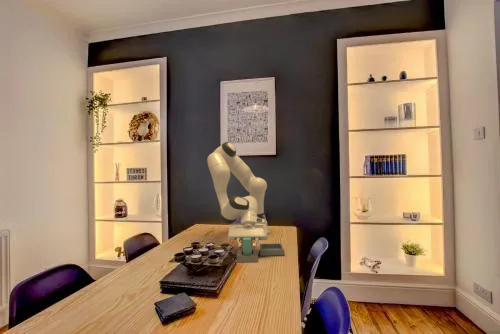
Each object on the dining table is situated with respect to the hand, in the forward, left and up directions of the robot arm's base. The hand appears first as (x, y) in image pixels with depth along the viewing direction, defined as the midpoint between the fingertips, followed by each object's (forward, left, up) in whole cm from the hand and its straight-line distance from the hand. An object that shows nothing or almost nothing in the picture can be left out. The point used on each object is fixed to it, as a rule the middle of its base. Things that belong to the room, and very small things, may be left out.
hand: (247, 247), depth 126 cm
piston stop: (-1, 0, -6) cm, 6 cm away
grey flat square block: (-1, 0, -6) cm, 6 cm away
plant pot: (-28, -1, -6) cm, 28 cm away
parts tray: (-10, +13, -6) cm, 17 cm away
